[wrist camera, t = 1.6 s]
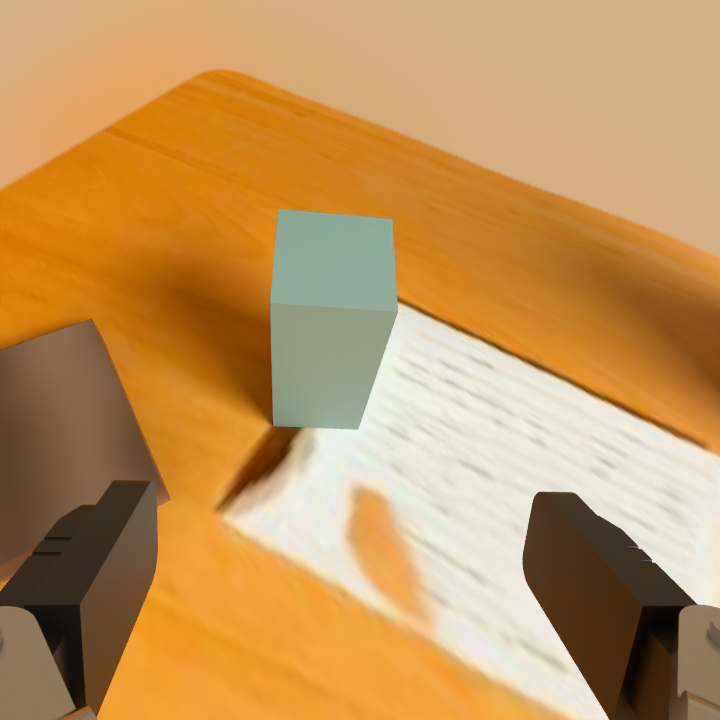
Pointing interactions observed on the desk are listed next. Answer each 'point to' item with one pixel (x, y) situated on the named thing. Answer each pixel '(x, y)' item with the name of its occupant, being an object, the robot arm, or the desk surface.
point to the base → (62, 436)
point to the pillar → (329, 315)
